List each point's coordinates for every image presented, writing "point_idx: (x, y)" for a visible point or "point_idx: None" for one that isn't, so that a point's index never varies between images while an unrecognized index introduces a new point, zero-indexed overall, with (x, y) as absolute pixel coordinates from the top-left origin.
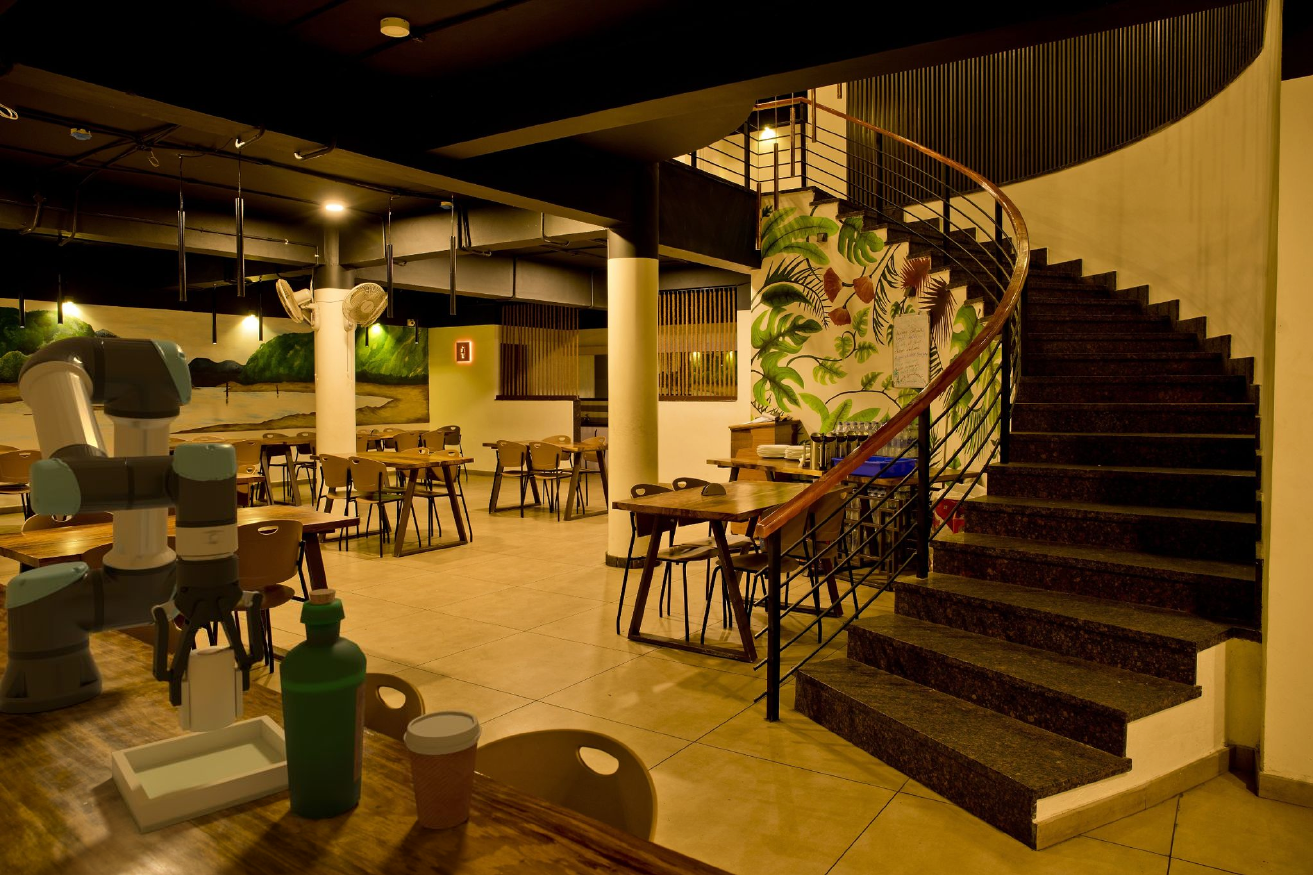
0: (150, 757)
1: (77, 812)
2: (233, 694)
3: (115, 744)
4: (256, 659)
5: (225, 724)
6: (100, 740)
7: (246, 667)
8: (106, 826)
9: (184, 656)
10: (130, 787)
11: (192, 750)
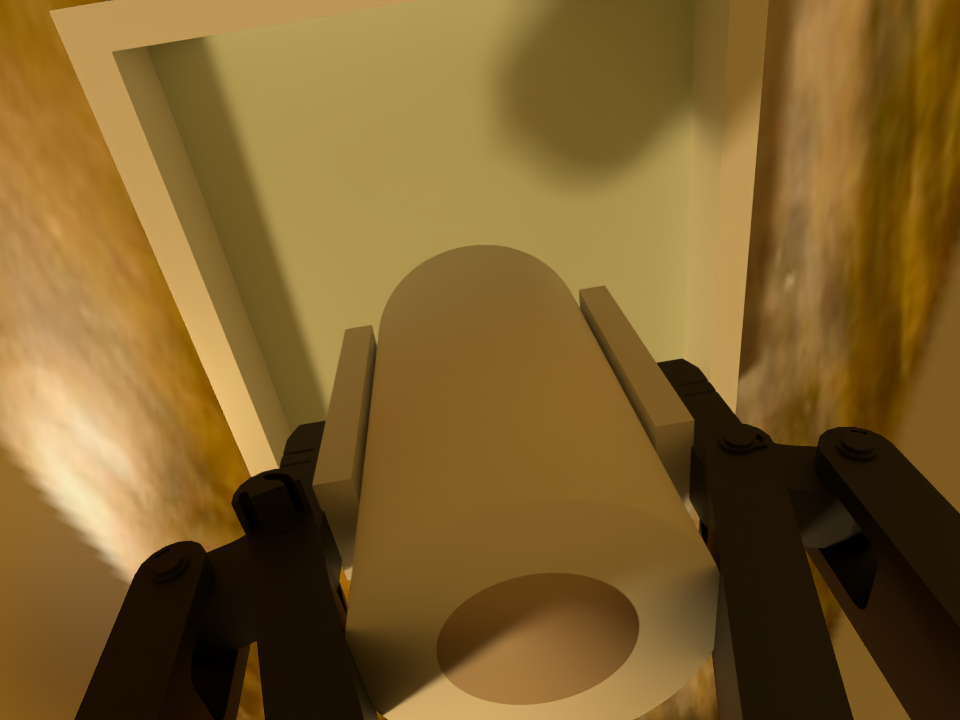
0: None
1: (822, 226)
2: (380, 375)
3: None
4: (195, 557)
5: (427, 263)
6: None
7: (275, 484)
8: (789, 63)
9: (761, 576)
10: (757, 129)
11: None
